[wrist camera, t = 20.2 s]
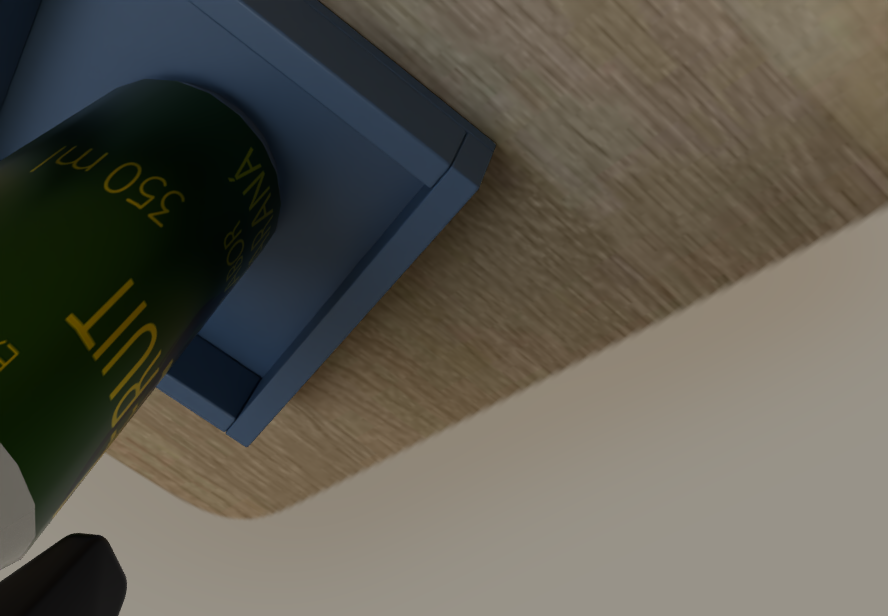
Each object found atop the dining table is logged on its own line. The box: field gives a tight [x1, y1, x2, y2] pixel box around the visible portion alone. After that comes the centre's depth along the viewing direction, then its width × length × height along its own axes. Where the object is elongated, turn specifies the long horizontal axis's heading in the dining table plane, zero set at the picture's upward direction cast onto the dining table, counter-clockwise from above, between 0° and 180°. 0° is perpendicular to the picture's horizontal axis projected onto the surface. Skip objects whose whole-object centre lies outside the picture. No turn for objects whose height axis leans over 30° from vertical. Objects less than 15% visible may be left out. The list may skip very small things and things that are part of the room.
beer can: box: [0, 79, 281, 570], centre depth 17 cm, size 5×5×12 cm
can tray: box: [0, 0, 496, 447], centre depth 21 cm, size 12×12×2 cm
